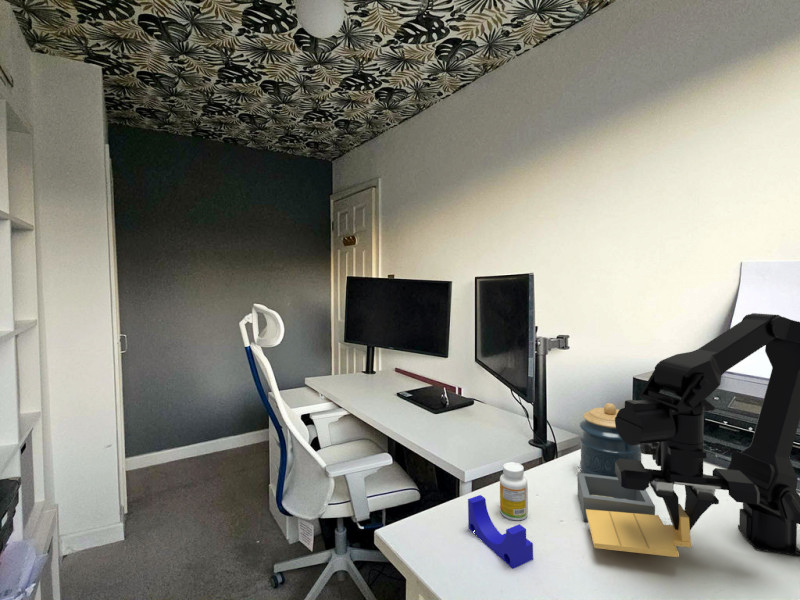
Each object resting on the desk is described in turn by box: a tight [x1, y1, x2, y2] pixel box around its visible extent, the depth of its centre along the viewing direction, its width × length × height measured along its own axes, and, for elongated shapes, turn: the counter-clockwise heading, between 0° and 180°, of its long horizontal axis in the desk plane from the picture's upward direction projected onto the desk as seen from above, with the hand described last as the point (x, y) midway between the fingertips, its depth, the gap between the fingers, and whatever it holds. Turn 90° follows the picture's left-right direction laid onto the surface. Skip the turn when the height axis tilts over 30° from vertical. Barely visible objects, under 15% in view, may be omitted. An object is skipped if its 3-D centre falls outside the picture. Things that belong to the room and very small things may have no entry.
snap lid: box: [586, 503, 692, 558], centre depth 67 cm, size 15×10×6 cm
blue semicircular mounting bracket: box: [467, 494, 534, 570], centre depth 71 cm, size 12×4×6 cm, turn 27°
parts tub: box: [577, 472, 656, 524], centre depth 79 cm, size 12×10×5 cm
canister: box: [579, 402, 642, 477], centre depth 93 cm, size 13×13×18 cm
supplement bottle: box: [499, 461, 529, 521], centre depth 79 cm, size 5×5×10 cm
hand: (681, 529), depth 65 cm, fingers closed on snap lid
